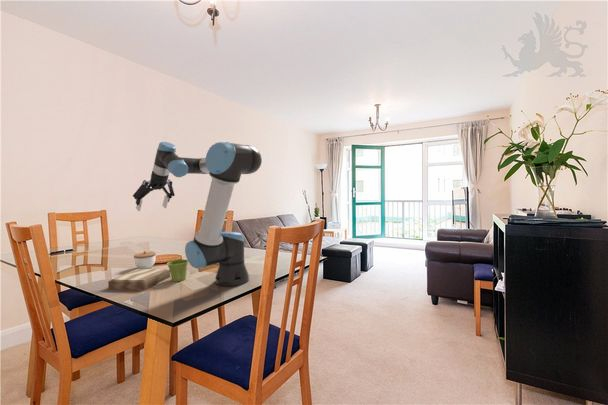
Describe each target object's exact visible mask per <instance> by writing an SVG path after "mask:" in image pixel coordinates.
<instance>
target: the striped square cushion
mask: <svg viewBox="0 0 608 405" xmlns="http://www.w3.org/2000/svg"><path fill="white" fill-rule="evenodd" d="M169 278H171V273H170V269H162V268H157V269H156V268H149V269H139V268H136V269H134V270H132V271H129V272H127V273H124V274H122V275H119V276H116V277H113V279H112V278H111V279H110V280H108V282H107V284H108V290H130V289H132V291H133V289H138V290H137V291H147V290H148V288H149V289H150V288H152V287H154V286H156V285H157V284H160V283H162V282H163V281H165V280H167V279H169Z"/></svg>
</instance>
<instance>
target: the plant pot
mask: <svg viewBox="0 0 608 405" xmlns="http://www.w3.org/2000/svg"><path fill="white" fill-rule="evenodd" d="M188 264H189V262H188V260H187V259H184V258H183V259H174V260H171V261H168V262H167V263H166V265H167V266H168V268H169V269H168V270H170V278H171V281H172V282H175V283H176V282H179V281H180V282H181V281H183V282H184V281H185V280H186V279H187V268H188Z"/></svg>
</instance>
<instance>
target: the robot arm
mask: <svg viewBox="0 0 608 405" xmlns="http://www.w3.org/2000/svg"><path fill="white" fill-rule="evenodd" d="M176 150H177V147H176V145H175V144H173V143H171V142H167V141H160V142H159V143H158V147H157V149H156V153H155V156H154V157H155V158H154V161H153V167H152V171H151V174H150V180H148V181H147V180H145V179H144V180H142V183H141V185H140V186H139V187H138V188H137V190H136V191H135V192H134V194H132V197H133V198H134V199H135V204H136V206H135V209H136V210H137V212H141V209H142V205H143V198H145V196H147V195H148V194H149V193H151V192H153V191H157V190H159V191H160V190H163V192H164V194H165V195H164V197H163V198H164V199H163V202H162V207H163V208H164V209H167V206H168V203H169V202H170V200H171V199H172V198H173V197H175V191H174V187H173V181H172V180H171V179H169V175H170V174H171V175H172V176H174V177H176V178H182V177H185V176H186V175H188V174H189V175H190V174H192V175H193V174H197V175H209V176H210V178H211V181H210V186H209V191H208V194H207V199H206V203H205V206H204V211H203V215H202V220H201V224H200V226H199V230H198V231H196V232H195V233H194V236H193V239H192V240H189V241H188V242H187V243H186V244H185V248H184V249H185V250H184V251H185V252H184V253H185V257H186V260H188V264H189V265H190V266H191V267H192V268H194V269H202V268H206V267H209V266H212V265H216V264H218V267H217V272H216V275H215V278H214V279H215V284H216V285H217V286H221V287H234V286H239V285H244V284H246V283H247V282H249V280H250V277H249V276H250V274H249V272H248V269H247V266H246V264H245V240H244V235H243V233H241V232H238V231H223V227H224V224H225V220H226V217H227V211H228V209H229V205H230V203H231V202H230V201H231V198H232V195H233V194H232V193H233V192H234V191H233V190H234V186H235V185H236V184H238V183H239V182H240V180H241V177H242V175H251V174H254V173H256V172H257V171H258V170H259V169H260V168H261V165H262V160H263V158H262V155H261V153H260V151H259V150H258V149H257V148H255V147H254V146H252V145H248V144H240V143H233V142H229V141H227V142H223V141H220V142H215V143H214V144H212V145H211V146H210V147H209V149H208V150H207V152H206V155H205V157H201V158H195V157H194V158H193V157H180V156H179V155H177V153H176ZM166 185H167V187H168V190H167V188H166Z"/></svg>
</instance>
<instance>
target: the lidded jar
mask: <svg viewBox="0 0 608 405" xmlns="http://www.w3.org/2000/svg"><path fill="white" fill-rule="evenodd" d="M156 254H157V252H155V251H147V250H143V252H138V253H135V254H134V255H133V261H134V264H135V266H136V267H137V269H148V268H149V269H152V267H153V266H154V265H155V263H156V259H157V258H156V257H157V255H156Z"/></svg>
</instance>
